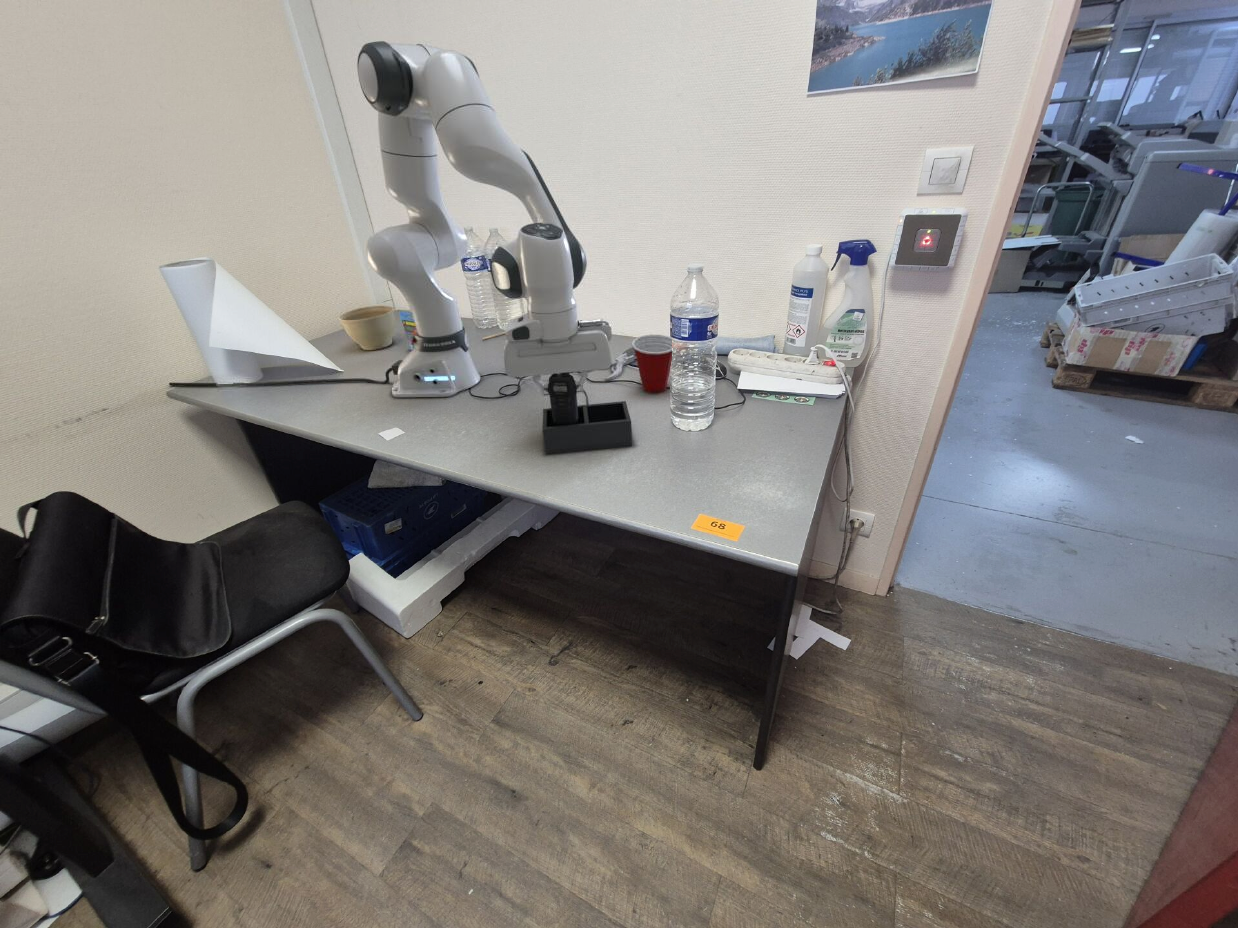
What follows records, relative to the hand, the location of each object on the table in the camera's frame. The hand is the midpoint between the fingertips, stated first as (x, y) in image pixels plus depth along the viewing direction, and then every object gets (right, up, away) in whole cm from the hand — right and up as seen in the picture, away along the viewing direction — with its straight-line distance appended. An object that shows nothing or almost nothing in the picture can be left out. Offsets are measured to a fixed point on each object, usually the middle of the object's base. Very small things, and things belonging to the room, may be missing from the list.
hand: (562, 392), depth 99 cm
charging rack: (+5, -9, +6) cm, 12 cm away
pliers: (+9, +12, +39) cm, 42 cm away
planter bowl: (-68, +25, +66) cm, 98 cm away
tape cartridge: (-50, +22, +59) cm, 81 cm away
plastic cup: (+20, +5, +26) cm, 33 cm away
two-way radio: (0, -5, +3) cm, 6 cm away
